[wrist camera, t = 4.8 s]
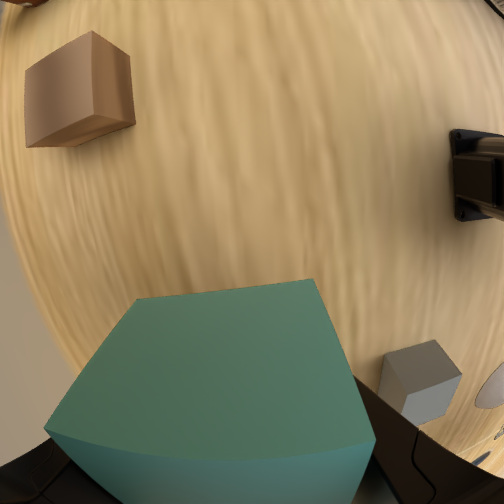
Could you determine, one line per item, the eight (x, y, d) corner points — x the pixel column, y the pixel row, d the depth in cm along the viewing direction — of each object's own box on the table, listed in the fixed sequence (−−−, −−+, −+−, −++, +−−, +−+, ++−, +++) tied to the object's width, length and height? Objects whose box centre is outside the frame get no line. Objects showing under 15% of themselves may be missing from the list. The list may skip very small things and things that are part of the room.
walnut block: (130, 56, 13) (91, 30, 8) (136, 124, 15) (93, 114, 10) (70, 83, 14) (25, 70, 9) (75, 146, 15) (26, 147, 10)
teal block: (312, 278, 7) (375, 440, 3) (317, 402, 9) (339, 525, 4) (137, 299, 8) (43, 428, 3) (183, 411, 9) (154, 524, 4)
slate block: (434, 338, 19) (462, 374, 14) (423, 379, 21) (444, 414, 16) (384, 353, 20) (407, 395, 15) (377, 393, 21) (394, 433, 16)
